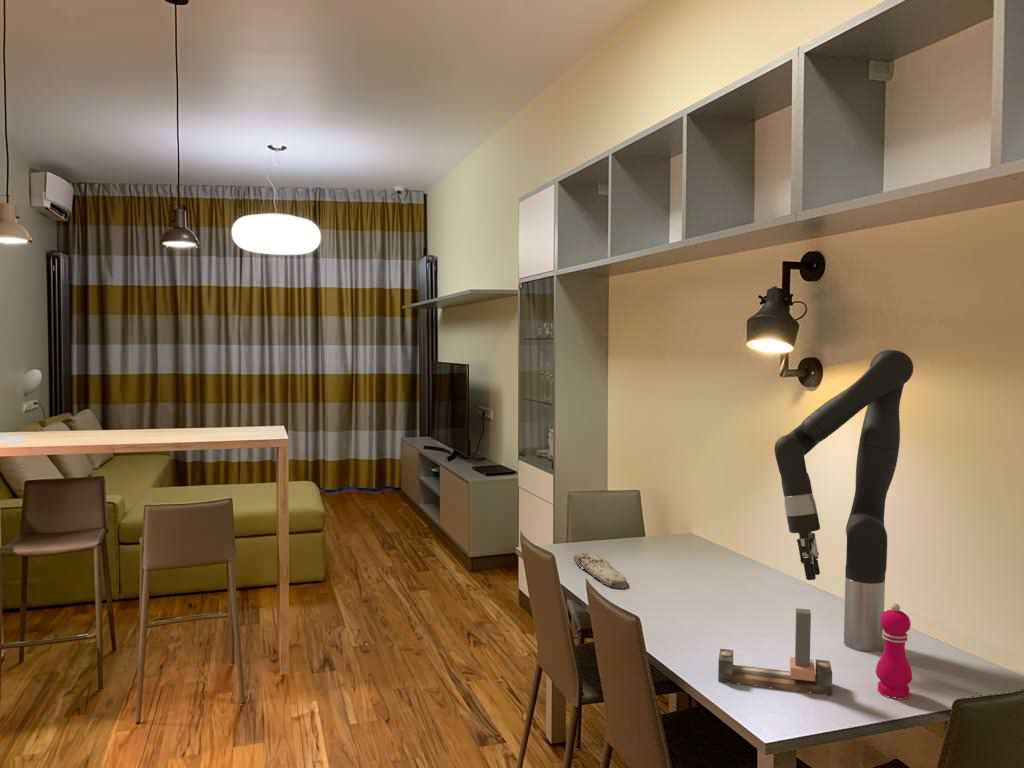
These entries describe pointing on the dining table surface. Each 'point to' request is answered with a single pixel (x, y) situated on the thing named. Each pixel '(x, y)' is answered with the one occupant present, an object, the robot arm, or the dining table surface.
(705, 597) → the dining table surface
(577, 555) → the long grey stone
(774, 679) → the rail
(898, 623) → the pepper mill
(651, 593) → the dining table surface
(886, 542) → the robot arm
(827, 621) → the dining table surface
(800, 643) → the carriage
